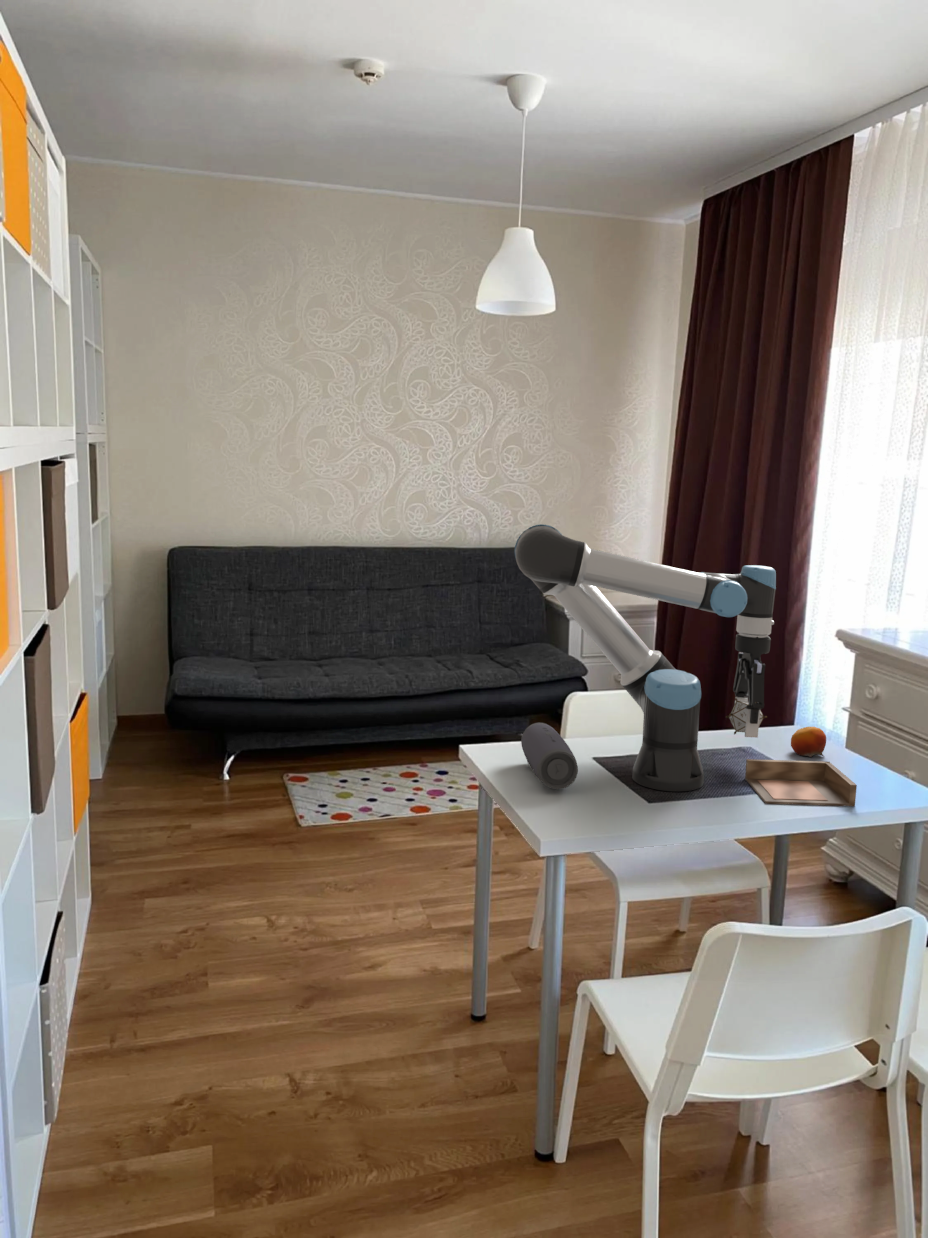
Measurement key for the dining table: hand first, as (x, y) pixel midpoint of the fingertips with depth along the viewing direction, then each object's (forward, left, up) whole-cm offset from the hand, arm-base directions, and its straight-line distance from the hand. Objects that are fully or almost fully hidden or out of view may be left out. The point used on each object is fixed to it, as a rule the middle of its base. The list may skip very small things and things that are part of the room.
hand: (745, 730), depth 222 cm
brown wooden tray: (+7, -18, -8) cm, 21 cm away
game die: (0, 0, -1) cm, 1 cm away
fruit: (+18, +11, -9) cm, 23 cm away
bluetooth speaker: (-46, -13, -9) cm, 48 cm away
